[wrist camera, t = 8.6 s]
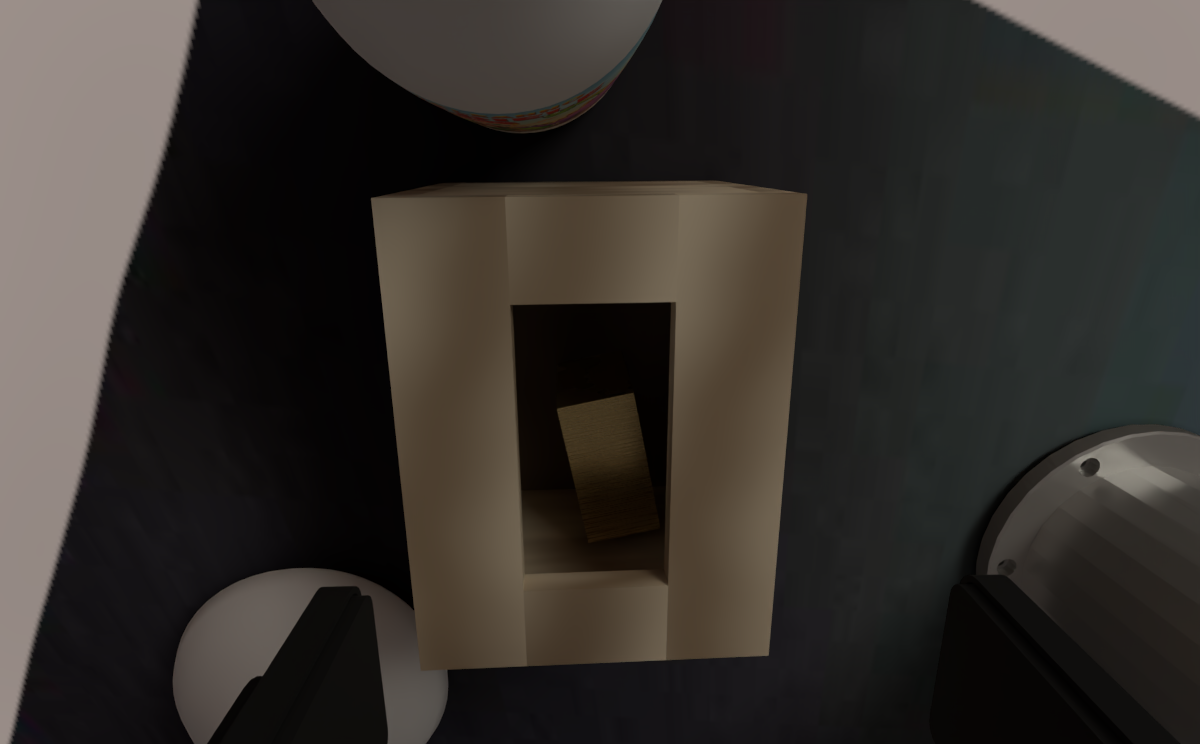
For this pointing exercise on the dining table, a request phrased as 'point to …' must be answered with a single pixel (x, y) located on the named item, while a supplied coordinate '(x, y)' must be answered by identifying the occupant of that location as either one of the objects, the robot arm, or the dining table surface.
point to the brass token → (605, 446)
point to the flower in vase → (260, 627)
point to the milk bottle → (498, 53)
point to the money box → (531, 423)
